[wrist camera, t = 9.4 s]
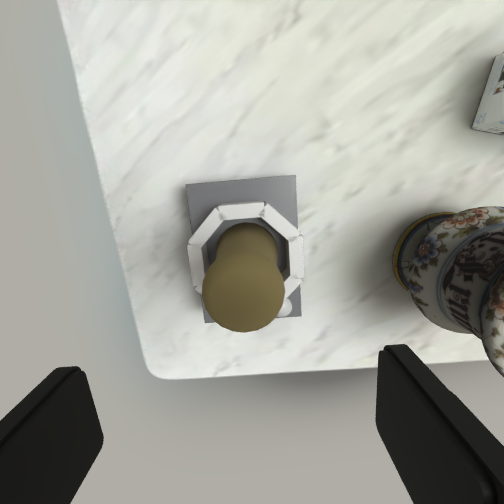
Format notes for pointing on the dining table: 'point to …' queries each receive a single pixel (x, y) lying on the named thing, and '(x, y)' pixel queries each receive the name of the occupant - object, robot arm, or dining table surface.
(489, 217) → the apothecary jar
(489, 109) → the light bulb box
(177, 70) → the dining table surface
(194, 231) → the octagonal ring stand
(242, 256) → the cork
